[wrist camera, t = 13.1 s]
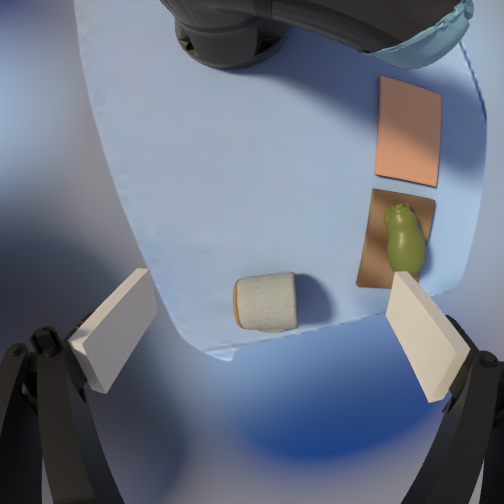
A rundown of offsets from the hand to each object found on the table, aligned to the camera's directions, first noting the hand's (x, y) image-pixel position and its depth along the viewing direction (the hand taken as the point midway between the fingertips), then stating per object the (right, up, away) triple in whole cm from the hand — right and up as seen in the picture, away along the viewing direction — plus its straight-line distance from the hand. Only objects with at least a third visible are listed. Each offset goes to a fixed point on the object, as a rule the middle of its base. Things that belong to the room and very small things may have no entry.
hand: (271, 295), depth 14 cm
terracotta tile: (+21, +19, +17) cm, 32 cm away
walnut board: (+20, +4, +22) cm, 30 cm away
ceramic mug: (+2, -4, +27) cm, 27 cm away
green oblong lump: (+19, +5, +21) cm, 29 cm away
